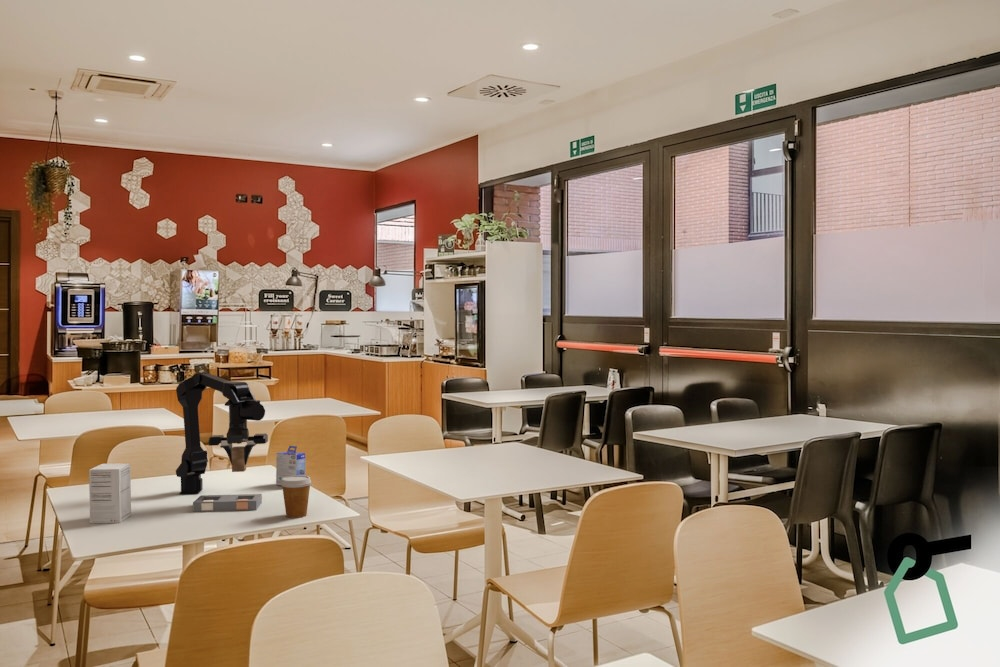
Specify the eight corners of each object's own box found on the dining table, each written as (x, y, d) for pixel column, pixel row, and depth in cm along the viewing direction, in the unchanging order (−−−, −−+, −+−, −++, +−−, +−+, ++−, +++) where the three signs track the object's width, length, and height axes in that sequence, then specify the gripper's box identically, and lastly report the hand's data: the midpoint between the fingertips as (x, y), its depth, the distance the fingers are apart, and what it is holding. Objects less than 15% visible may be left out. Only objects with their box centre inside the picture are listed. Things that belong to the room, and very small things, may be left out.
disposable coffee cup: (299, 510, 264) (299, 473, 264) (317, 515, 258) (317, 477, 258) (274, 516, 257) (274, 478, 257) (293, 521, 251) (292, 482, 251)
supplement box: (102, 515, 257) (101, 463, 257) (132, 515, 258) (131, 462, 258) (89, 523, 248) (88, 469, 247) (120, 523, 249) (119, 468, 248)
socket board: (192, 511, 262) (192, 502, 262) (200, 504, 273) (200, 494, 272) (256, 510, 265) (256, 500, 265) (261, 502, 275) (261, 493, 275)
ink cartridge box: (306, 485, 303) (306, 446, 302) (296, 487, 298) (296, 448, 297) (285, 482, 307) (285, 444, 307) (275, 485, 302) (275, 446, 302)
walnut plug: (232, 471, 275) (231, 448, 275) (234, 469, 279) (233, 446, 279) (244, 471, 275) (243, 448, 275) (246, 469, 279) (245, 446, 279)
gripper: (204, 423, 267) (205, 470, 268) (262, 421, 270) (263, 467, 270) (211, 418, 278) (212, 464, 279) (267, 417, 281) (268, 462, 281)
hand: (239, 464), depth 277 cm, fingers closed on walnut plug, 4 cm apart
